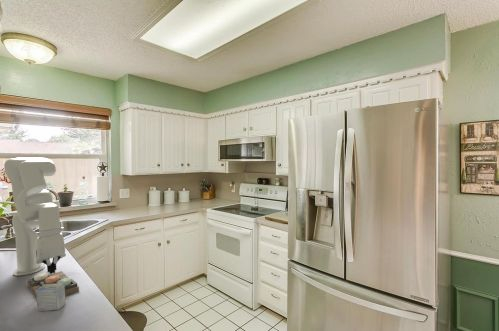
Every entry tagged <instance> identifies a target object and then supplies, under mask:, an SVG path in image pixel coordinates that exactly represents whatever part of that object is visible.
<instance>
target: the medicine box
mask: <svg viewBox="0 0 499 331" xmlns="http://www.w3.org/2000/svg"><path fill="white" fill-rule="evenodd" d="M36 294H37V297H36V306H37V312H44V311H58V310H60V309H61V308H62V307H63V306H65V305H66V296H65V287H64V283H59V284H44V285H43V286H41V287H40V288H38V289H37V290H36Z"/></svg>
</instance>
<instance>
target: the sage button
mask: <svg viewBox="0 0 499 331" xmlns="http://www.w3.org/2000/svg"><path fill="white" fill-rule="evenodd" d="M71 279H72V278H71V277H69V278H65V279H61V280H59V281H58V282H57V284H59V283H64V287H65V286H68V285H71Z"/></svg>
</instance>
